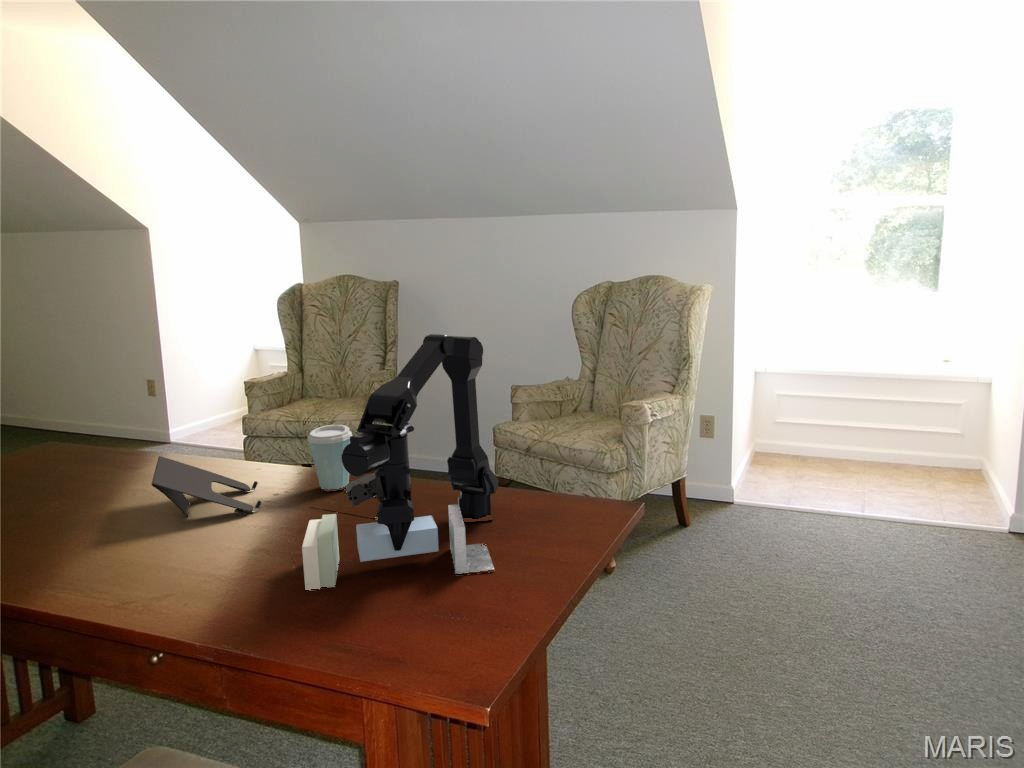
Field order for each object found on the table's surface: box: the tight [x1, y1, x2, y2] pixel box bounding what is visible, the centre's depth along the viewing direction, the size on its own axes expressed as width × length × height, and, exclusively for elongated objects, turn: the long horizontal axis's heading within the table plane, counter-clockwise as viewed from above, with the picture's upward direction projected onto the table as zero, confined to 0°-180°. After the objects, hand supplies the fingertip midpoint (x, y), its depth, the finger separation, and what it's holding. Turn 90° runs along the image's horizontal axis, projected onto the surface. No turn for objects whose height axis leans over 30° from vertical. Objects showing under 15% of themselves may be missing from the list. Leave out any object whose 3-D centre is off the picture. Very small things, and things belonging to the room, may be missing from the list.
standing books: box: [301, 513, 340, 591], centre depth 135 cm, size 5×13×9 cm, turn 9°
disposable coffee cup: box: [307, 424, 353, 490], centre depth 183 cm, size 11×11×15 cm
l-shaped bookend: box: [447, 503, 495, 574], centre depth 140 cm, size 7×12×9 cm, turn 9°
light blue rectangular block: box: [355, 515, 440, 563], centre depth 137 cm, size 14×6×4 cm, turn 106°
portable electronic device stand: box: [151, 455, 262, 518], centre depth 172 cm, size 23×23×9 cm
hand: (397, 542), depth 138 cm, fingers closed on light blue rectangular block, 7 cm apart
